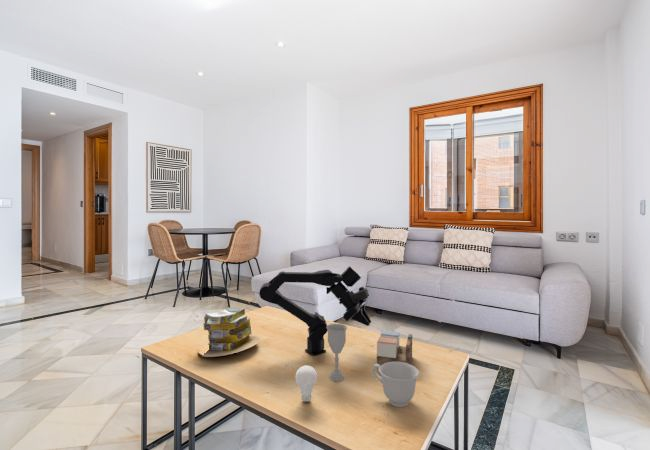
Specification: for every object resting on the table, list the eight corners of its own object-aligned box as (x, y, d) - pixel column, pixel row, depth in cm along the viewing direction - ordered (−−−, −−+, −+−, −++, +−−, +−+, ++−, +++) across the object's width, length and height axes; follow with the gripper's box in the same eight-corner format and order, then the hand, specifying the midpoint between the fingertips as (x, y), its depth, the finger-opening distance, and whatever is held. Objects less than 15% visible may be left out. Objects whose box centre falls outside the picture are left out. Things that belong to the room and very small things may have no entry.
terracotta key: (376, 355, 127) (376, 341, 127) (378, 351, 131) (378, 337, 131) (395, 358, 125) (396, 343, 125) (397, 353, 129) (397, 339, 129)
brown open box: (376, 367, 127) (376, 342, 127) (381, 353, 139) (382, 330, 139) (409, 372, 123) (410, 346, 123) (412, 357, 136) (412, 333, 135)
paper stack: (185, 353, 140) (184, 313, 139) (231, 334, 161) (230, 299, 160) (226, 368, 127) (226, 324, 126) (271, 345, 148) (270, 307, 147)
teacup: (380, 385, 114) (380, 355, 114) (424, 399, 106) (424, 367, 105) (363, 401, 104) (363, 369, 104) (410, 418, 96) (410, 384, 95)
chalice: (349, 374, 121) (349, 325, 121) (344, 384, 115) (344, 331, 114) (329, 371, 124) (329, 322, 123) (323, 380, 117) (323, 329, 117)
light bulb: (295, 396, 108) (295, 362, 107) (316, 395, 108) (316, 361, 108) (295, 408, 101) (295, 372, 101) (317, 407, 102) (317, 371, 101)
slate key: (380, 347, 135) (380, 333, 134) (381, 343, 139) (381, 330, 139) (398, 349, 132) (398, 335, 132) (399, 345, 137) (399, 331, 137)
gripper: (351, 287, 130) (380, 318, 127) (361, 277, 148) (387, 305, 145) (331, 305, 133) (359, 336, 130) (343, 294, 150) (368, 321, 147)
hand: (369, 323), depth 138 cm, fingers open, 3 cm apart
